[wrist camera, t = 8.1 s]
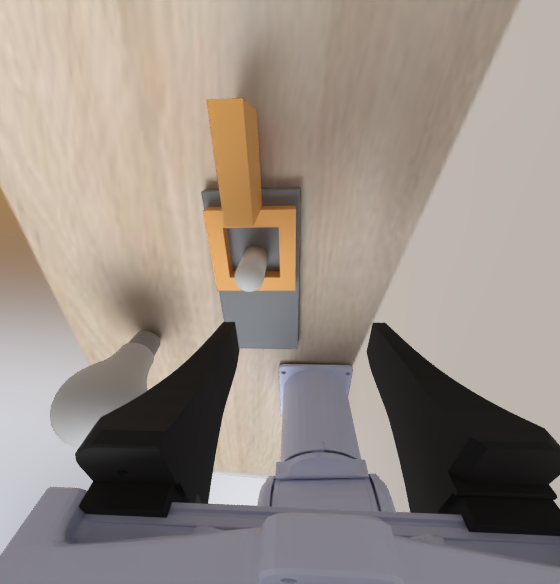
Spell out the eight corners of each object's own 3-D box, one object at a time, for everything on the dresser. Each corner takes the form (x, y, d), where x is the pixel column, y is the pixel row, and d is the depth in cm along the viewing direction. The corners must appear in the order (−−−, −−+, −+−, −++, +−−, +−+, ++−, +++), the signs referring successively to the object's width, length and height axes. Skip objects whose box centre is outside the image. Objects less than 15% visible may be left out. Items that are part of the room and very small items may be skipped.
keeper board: (297, 342, 26) (298, 386, 21) (231, 341, 26) (217, 385, 22) (299, 187, 18) (302, 203, 13) (205, 189, 18) (175, 206, 14)
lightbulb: (112, 312, 25) (3, 416, 16) (171, 310, 24) (95, 416, 15) (134, 356, 28) (55, 464, 19) (187, 355, 28) (133, 466, 18)
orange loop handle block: (295, 283, 21) (295, 319, 17) (220, 283, 21) (203, 318, 17) (296, 108, 15) (298, 96, 11) (191, 112, 15) (152, 101, 11)
